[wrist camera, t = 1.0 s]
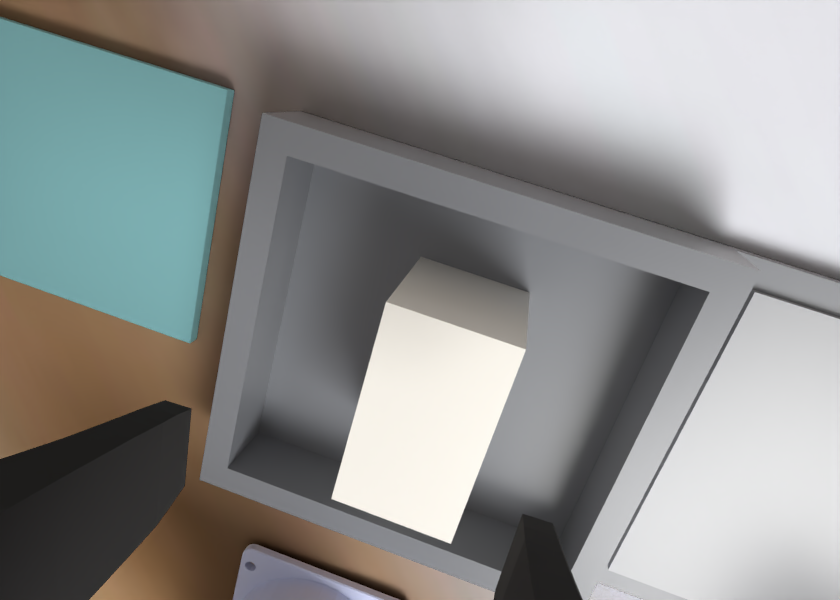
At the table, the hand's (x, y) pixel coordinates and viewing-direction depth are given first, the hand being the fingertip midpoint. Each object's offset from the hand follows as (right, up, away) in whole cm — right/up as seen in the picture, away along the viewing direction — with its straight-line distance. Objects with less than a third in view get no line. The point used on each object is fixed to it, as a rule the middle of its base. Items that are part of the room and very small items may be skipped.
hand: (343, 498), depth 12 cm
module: (+3, +2, +10) cm, 10 cm away
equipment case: (+10, 0, +9) cm, 14 cm away
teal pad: (-11, +9, +11) cm, 18 cm away
